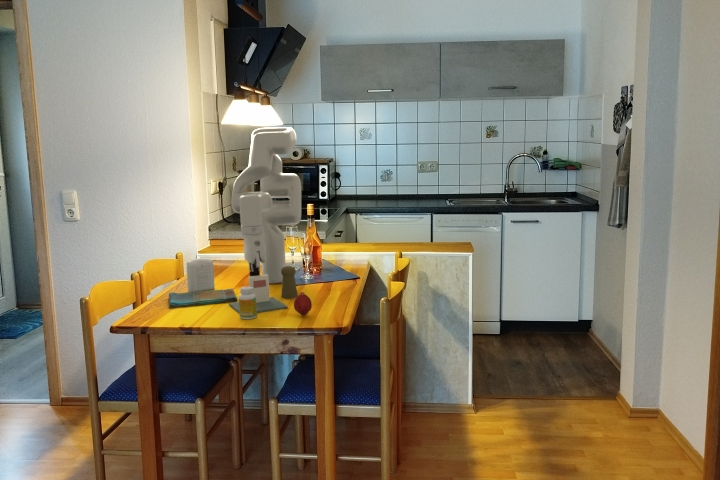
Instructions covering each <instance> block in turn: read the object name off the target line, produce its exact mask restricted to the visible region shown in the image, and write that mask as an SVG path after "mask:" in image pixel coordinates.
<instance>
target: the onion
mask: <svg viewBox="0 0 720 480" xmlns="http://www.w3.org/2000/svg"><path fill="white" fill-rule="evenodd" d="M312 306H313V304H312V299H311V298H310V297H309V296H308V295H307V294H305V292H304V291H301V292H300V294H298V296H297V297H296V298H294V301H293V309H294V310H295V312H296V313H298V314H299V315H300V316H301V317H305V316H306V315H307V314H308V313H309V312H310V311H311V309H312Z"/></svg>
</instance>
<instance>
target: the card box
mask: <svg viewBox="0 0 720 480" xmlns="http://www.w3.org/2000/svg"><path fill="white" fill-rule="evenodd" d="M248 287H253V294H255V296H256V303H258V302H265V301H270V297H271V296H270V284H269V278H268V275H267V274H266V275H262V274H260V275H258V276H250V275H249V276H248Z"/></svg>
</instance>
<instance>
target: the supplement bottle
mask: <svg viewBox="0 0 720 480" xmlns="http://www.w3.org/2000/svg"><path fill="white" fill-rule="evenodd" d="M239 289H240V290H239V291H240V294H239V295H238V302H239V310H240V314H239V318H240V319H242V320H252V319H256V318H257V316H258V313H257V309H256V296H255V294H253V287H249V286H242V287H240V288H239Z"/></svg>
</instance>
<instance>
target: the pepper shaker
mask: <svg viewBox="0 0 720 480" xmlns="http://www.w3.org/2000/svg"><path fill="white" fill-rule="evenodd" d="M295 269H296V268H295V267H294V266H292V265H287V266H285V267H283V268H282V269H281V274H282V276H283V281H282V284H281V297H280V298H281V299H284V300H285V299H286V300H287V299H288V300H290V299H296V297H297V296H298V295H299V293H298V290H297V283H296V278H295V275H296V274H297V273H296V270H295ZM295 273H296V274H295Z"/></svg>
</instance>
